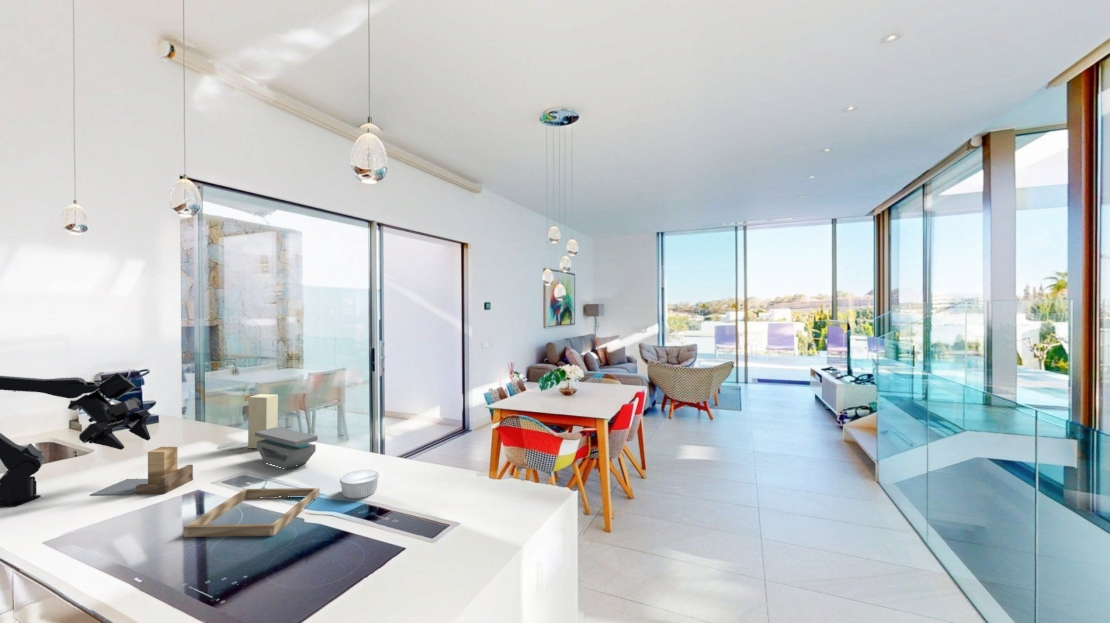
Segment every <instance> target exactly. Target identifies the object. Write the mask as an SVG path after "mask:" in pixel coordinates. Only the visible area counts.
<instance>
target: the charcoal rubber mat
mask: <svg viewBox="0 0 1110 623" xmlns="http://www.w3.org/2000/svg"><path fill="white" fill-rule="evenodd" d="M139 484H148V478H125V479H123V480H120V481H119V482H117V483H114V484H111V485H110V486H107V487H105V488H102V489H100V490H98V491H97V490H96V491H94V492H93V493H90V494H89V496H132V495H133V494H136V486H137V485H139Z"/></svg>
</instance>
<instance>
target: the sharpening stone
mask: <svg viewBox="0 0 1110 623" xmlns="http://www.w3.org/2000/svg"><path fill="white" fill-rule="evenodd" d="M255 436H256V437H260V438H264V440H261V441H257V449H256V450H257V452H259V454H260V456H261V458H262V460H263V462H264V464H265V463H268V464H272V465H275V466H278V467H281V468H284V469H286V470H288V469H287V468H289V469H291V468H290V467H292V468H295V467H297V466H296V465H298V466H300V465H299V464H301V465H303V464H302V463H305V464H306V463H307V462H309V460H310V458H312V456H313V455H314V453H315V452H316V449H317V448H316V444H314V443H313V442H317V441H318V435H315V434H311V433H306V432H302V431H297V430H296V431H295V430H293V429H287V428H283V427H279V426H278V427H275V428H270V429H266V430H262V431H258V432H255ZM294 466H295V467H294Z"/></svg>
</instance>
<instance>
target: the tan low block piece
mask: <svg viewBox="0 0 1110 623" xmlns="http://www.w3.org/2000/svg"><path fill="white" fill-rule="evenodd" d="M193 469H194V464H187V465H184V466H181V467H180V468H179V469H178V470H175V471H173V472H171V473H169V474H166V475H164V476H162V477H160V484H139V485H137V486H136V493H135V494H136V495H165V494H168V493H169V492H171V491H174V490H176V489H177V488H179V487H181V486H183V485H186V484H187V483H189V482H191V481H193V480H194V470H193Z"/></svg>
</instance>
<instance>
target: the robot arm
mask: <svg viewBox="0 0 1110 623" xmlns="http://www.w3.org/2000/svg"><path fill="white" fill-rule="evenodd" d="M135 388H136V385H135V384H134V383H133V382H132V381H131V380H130V379H129V378H126V377H125V376H124V375H122V374H120V372H115V373H114V374H112V376H110V377H109V378H107V379H105V380H104V381H102V382H101V383H100V382H92V381H86V380H85V379H84V378H82V377H77V376H75V377H56V378H35V377H24V376H22V377H21V376H8V375H0V391H10V392H11V391H12V392H13V391H14V392H28V393H42V394H46V395H50V396H55V397H59V398H64V399H71V400H69V404H68V406H67V409H68V410H71V411H77V410H79V409H81V410H82V411H83V412H84V413H85V414H86V415H87V416H88V417H89V418H88V422H89V423H90V424H89V425H88V426H87V427H86V428H84V430H82V431H81V432H80V433H79V435H78V436H79V437H78V438H79V439H78V440H80V441H81V442H82V444H86V443H88V444H96V445H101V446H105V447H109V448H113V449H117V450H120V451H121V450H124V449H125V445H124V444H123V443H122V441H121V440H120V439H119V438H117V436H115V434H114V433H113V430H115V429H118V428H122V427H125V429H128V432H130V433H132V434H133V435H136V436H137V437H139V438H141V439H143V440H146V441H147V442H148V441H149V440H151V435H150V433H149V430H148V427H147V421H148V420H149V418H150V416H151V413H150V412H149V411H148V410H146V409H142V410H139V411H135V412H132V411H134V410H138V409H140V406H141V405H142V402H141V400H140V399H139V398H137V397H136V396H135V397H130V398H129V399H127V400H125V401H122V402H119V403H113V404H112V403H111V402H110V401H109V400H111V399H116V400H118V399H119V398H121V397H122V396H124V395H126V394H127V393H129V392H131V391H132V390H133V389H135ZM102 394H103V395H102ZM82 395H83V396H82ZM80 396H81V397H80ZM105 397H106V398H105ZM75 398H77V399H75ZM107 398H108V399H109V400H107ZM72 399H75V400H72ZM130 412H132V413H131V415H130ZM129 415H130V416H129ZM126 417H128V418H126ZM93 422H94V423H93ZM43 453H44V451H43V450H39V449H37V448H36V447H35V446H34V445H33V444H32V443H29V444H28V445H26V446H23V445H19V444H17V443H16V442H14V441H12V440H11V439H10V438H9V437H7V436H6V435H4V434H2V433H1V432H0V462H1V463H2V464H3V466H4V467H5V468H6V469H7V470H6V471H5V472H4V473H3V474H2V475H1V477H0V507H18V506H20V505H23V504H25V503H27V502H30V501H33V500H36V499H39V498H41V497H42V495H41V494H37V481H36V476H33V475H35V474H36V473H38V471H39V470H40V469H41V467H42V466H43V464H44V462H45V456H44V455H43Z"/></svg>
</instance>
